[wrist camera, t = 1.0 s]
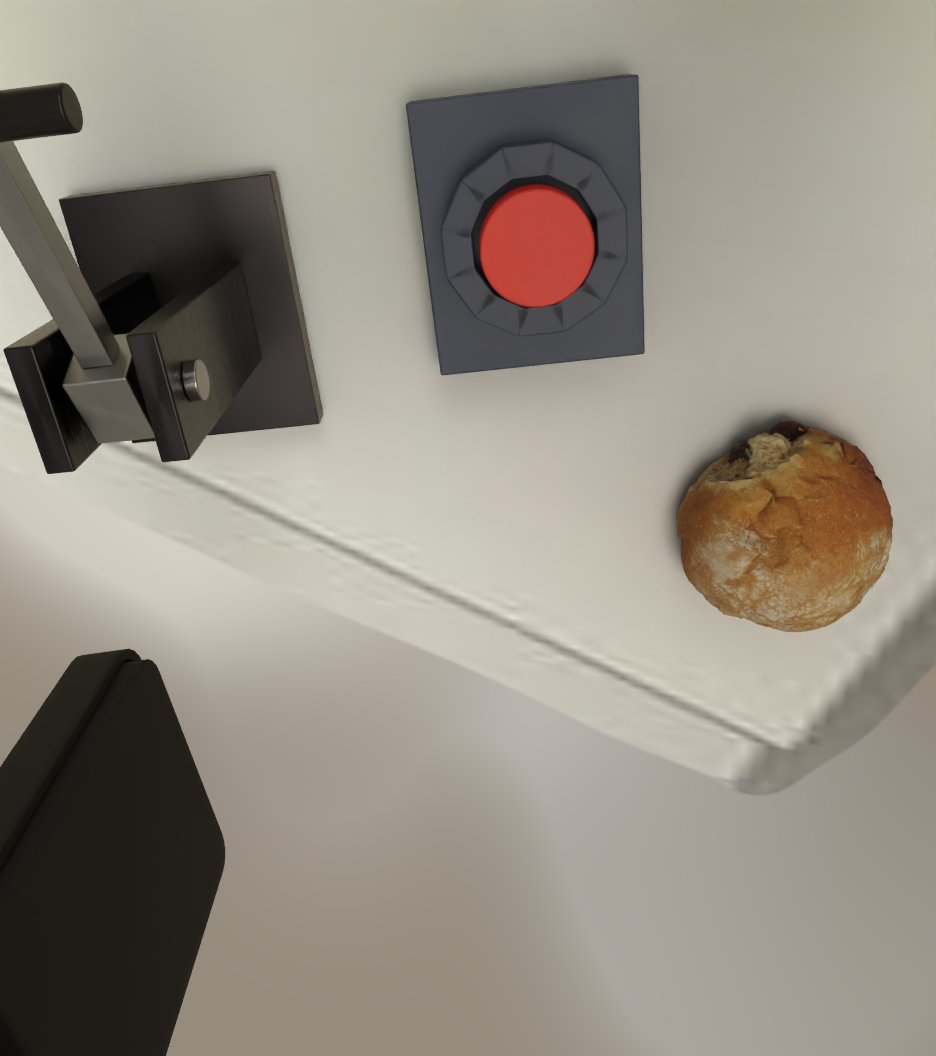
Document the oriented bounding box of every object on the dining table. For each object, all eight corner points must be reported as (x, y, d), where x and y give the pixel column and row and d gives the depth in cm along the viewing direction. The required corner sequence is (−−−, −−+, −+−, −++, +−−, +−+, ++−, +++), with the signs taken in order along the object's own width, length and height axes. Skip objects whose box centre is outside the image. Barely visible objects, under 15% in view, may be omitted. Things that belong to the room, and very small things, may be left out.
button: (473, 190, 35) (473, 196, 33) (586, 177, 35) (592, 182, 33) (485, 303, 37) (485, 313, 35) (592, 291, 37) (597, 301, 35)
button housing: (409, 101, 37) (402, 105, 33) (629, 74, 36) (646, 74, 33) (442, 361, 42) (439, 388, 38) (636, 340, 41) (652, 366, 38)
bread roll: (646, 522, 49) (654, 648, 45) (714, 388, 41) (732, 524, 36) (818, 549, 50) (844, 676, 45) (918, 422, 42) (963, 560, 37)
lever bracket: (69, 195, 39) (-101, 249, 27) (275, 170, 38) (190, 215, 27) (140, 434, 44) (22, 564, 32) (323, 415, 43) (269, 540, 32)
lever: (-126, 89, 24) (-162, 134, 23) (73, 63, 24) (50, 107, 22) (67, 402, 33) (51, 449, 31) (214, 387, 33) (204, 433, 31)
